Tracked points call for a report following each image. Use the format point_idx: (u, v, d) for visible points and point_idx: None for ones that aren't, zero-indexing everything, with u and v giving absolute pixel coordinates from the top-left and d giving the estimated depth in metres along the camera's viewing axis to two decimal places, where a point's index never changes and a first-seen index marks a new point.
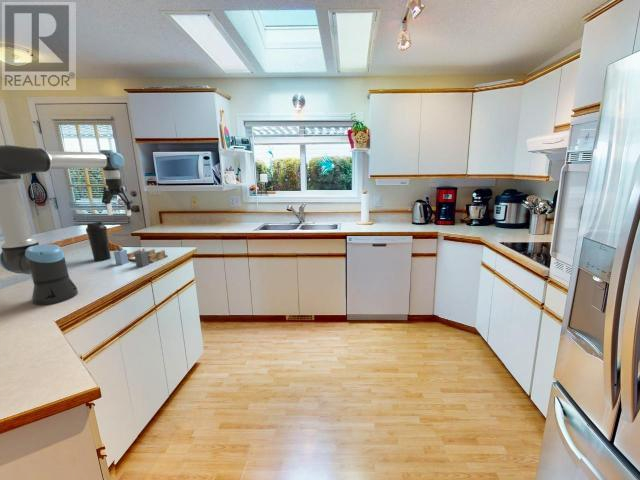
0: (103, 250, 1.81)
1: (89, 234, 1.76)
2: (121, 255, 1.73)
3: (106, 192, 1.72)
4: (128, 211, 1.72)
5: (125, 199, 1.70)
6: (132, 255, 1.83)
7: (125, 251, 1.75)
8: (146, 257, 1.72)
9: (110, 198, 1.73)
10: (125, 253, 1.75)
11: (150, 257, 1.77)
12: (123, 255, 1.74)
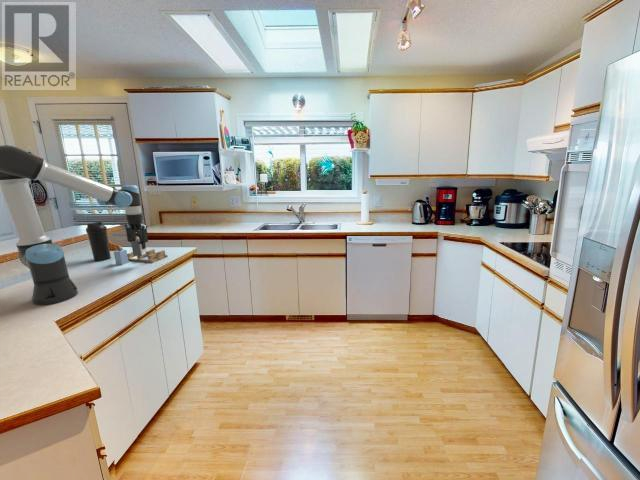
0: (103, 250, 1.81)
1: (89, 234, 1.76)
2: (121, 255, 1.73)
3: (128, 229, 1.68)
4: (143, 250, 1.68)
5: (142, 238, 1.67)
6: (132, 255, 1.83)
7: (125, 251, 1.75)
8: None
9: (134, 235, 1.68)
10: (125, 253, 1.75)
11: (150, 257, 1.77)
12: (123, 255, 1.74)
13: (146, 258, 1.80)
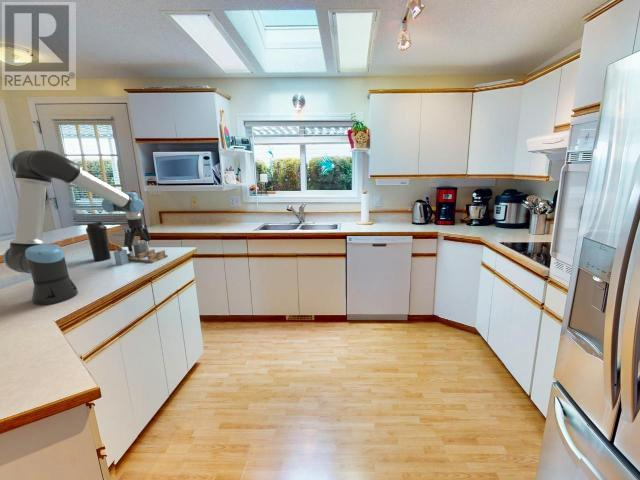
0: (103, 250, 1.81)
1: (89, 234, 1.76)
2: (121, 255, 1.73)
3: (143, 229, 1.86)
4: (131, 252, 1.78)
5: None
6: None
7: (125, 251, 1.75)
8: (138, 250, 1.81)
9: (143, 236, 1.85)
10: (125, 253, 1.75)
11: (150, 257, 1.77)
12: (123, 255, 1.74)
13: (146, 258, 1.80)
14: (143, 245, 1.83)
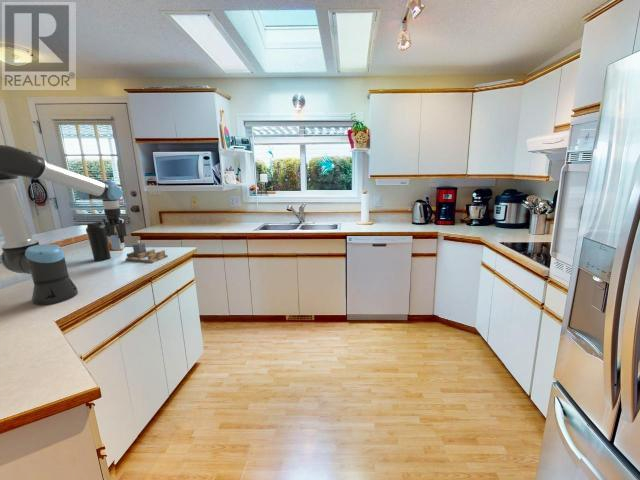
0: (103, 250, 1.81)
1: (89, 234, 1.76)
2: (117, 240, 1.70)
3: (107, 223, 1.71)
4: (121, 244, 1.72)
5: (120, 232, 1.70)
6: (132, 255, 1.83)
7: None
8: (138, 250, 1.81)
9: (113, 229, 1.71)
10: None
11: (150, 257, 1.77)
12: None
13: (146, 258, 1.80)
14: (143, 245, 1.83)
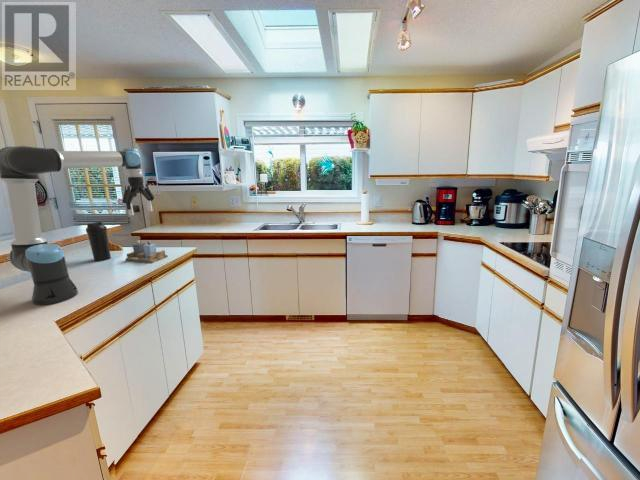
0: (103, 250, 1.81)
1: (89, 234, 1.76)
2: (144, 249, 1.80)
3: (145, 189, 1.79)
4: (129, 210, 1.69)
5: (128, 198, 1.68)
6: (132, 255, 1.83)
7: (148, 247, 1.78)
8: (138, 250, 1.81)
9: (145, 195, 1.78)
10: (148, 248, 1.79)
11: (150, 257, 1.77)
12: (146, 249, 1.79)
13: (146, 258, 1.80)
14: None
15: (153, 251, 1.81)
